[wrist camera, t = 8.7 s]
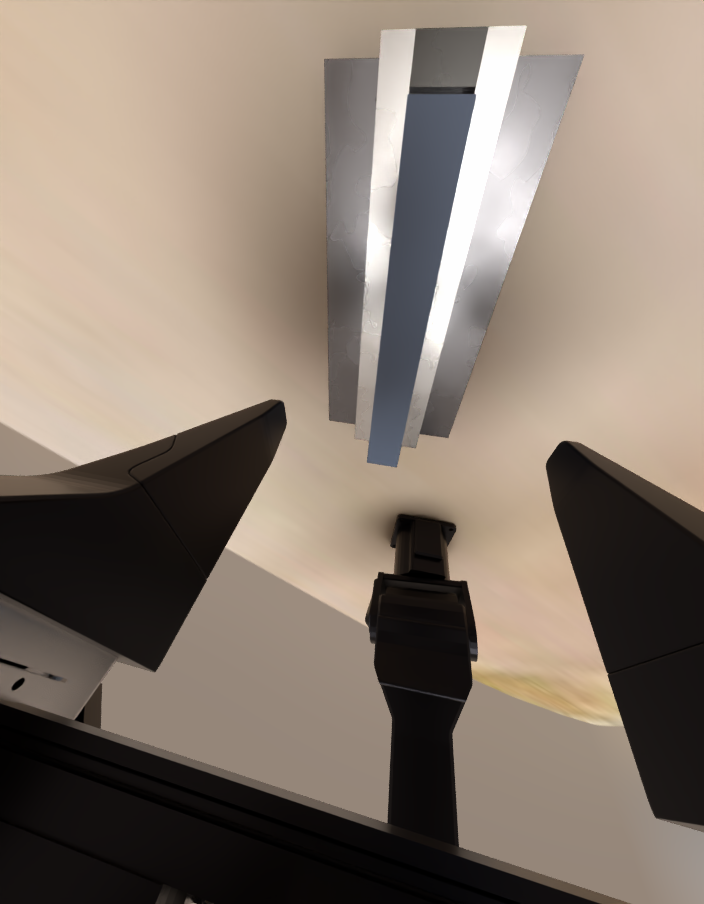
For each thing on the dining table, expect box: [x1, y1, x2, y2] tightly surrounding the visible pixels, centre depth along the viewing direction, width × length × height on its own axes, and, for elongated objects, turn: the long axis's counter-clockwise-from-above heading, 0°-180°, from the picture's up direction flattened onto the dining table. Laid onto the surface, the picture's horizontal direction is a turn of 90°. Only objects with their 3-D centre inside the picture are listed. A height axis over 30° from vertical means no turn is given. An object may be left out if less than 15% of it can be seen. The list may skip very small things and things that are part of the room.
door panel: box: [367, 94, 477, 467], centre depth 13 cm, size 12×2×8 cm, turn 177°
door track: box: [324, 25, 584, 448], centre depth 16 cm, size 18×10×3 cm, turn 177°
